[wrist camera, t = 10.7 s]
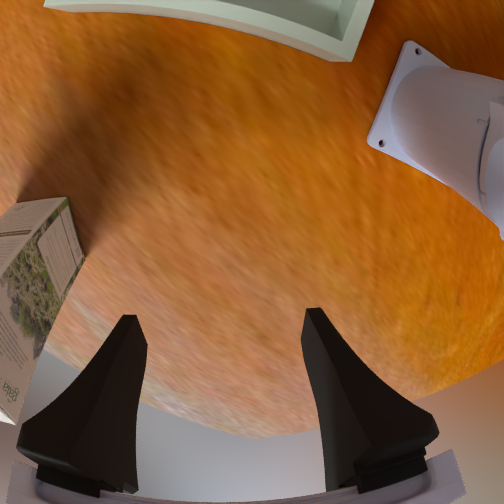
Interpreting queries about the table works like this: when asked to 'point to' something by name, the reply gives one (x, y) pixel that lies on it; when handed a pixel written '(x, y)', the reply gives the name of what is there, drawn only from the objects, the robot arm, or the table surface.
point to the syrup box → (32, 289)
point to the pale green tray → (258, 19)
